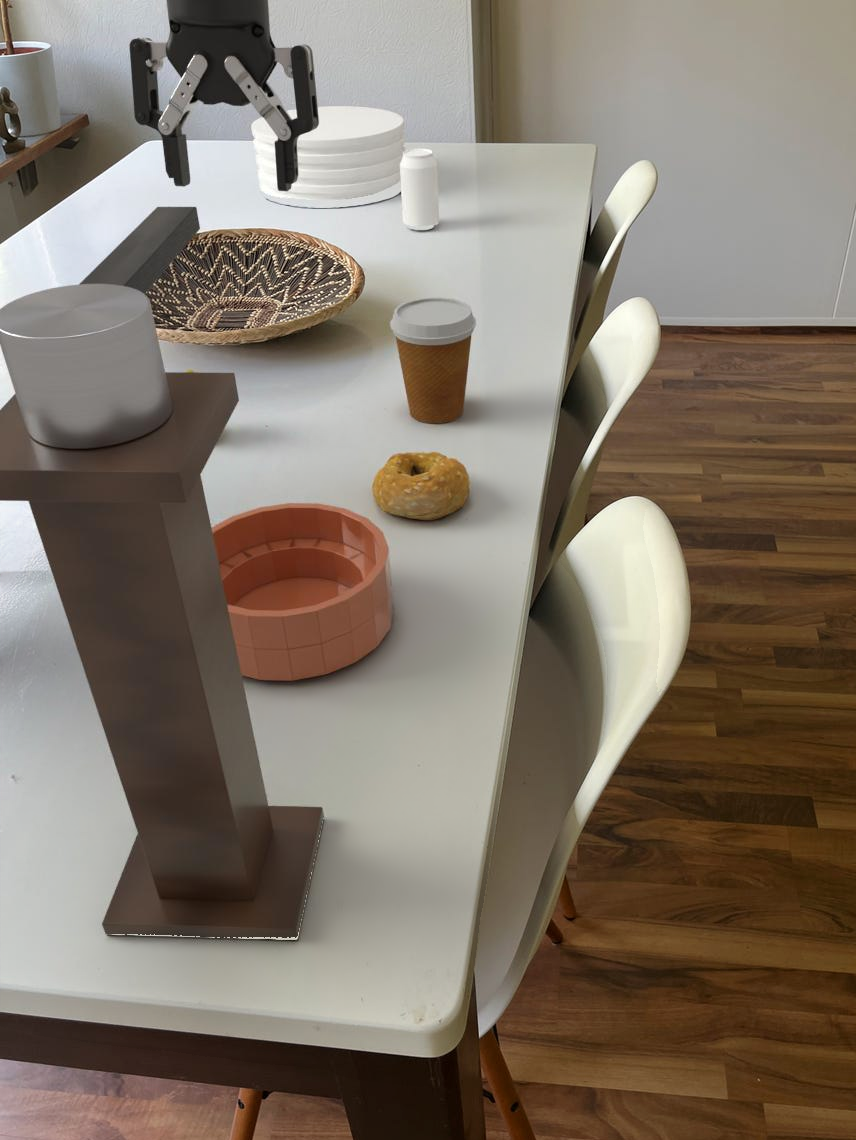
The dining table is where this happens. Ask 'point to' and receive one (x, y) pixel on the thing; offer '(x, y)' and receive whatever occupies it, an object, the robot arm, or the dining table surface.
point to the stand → (166, 671)
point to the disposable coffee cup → (434, 355)
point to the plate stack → (336, 154)
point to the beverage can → (419, 187)
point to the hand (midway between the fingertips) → (233, 187)
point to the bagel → (421, 485)
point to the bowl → (303, 588)
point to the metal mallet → (97, 344)
